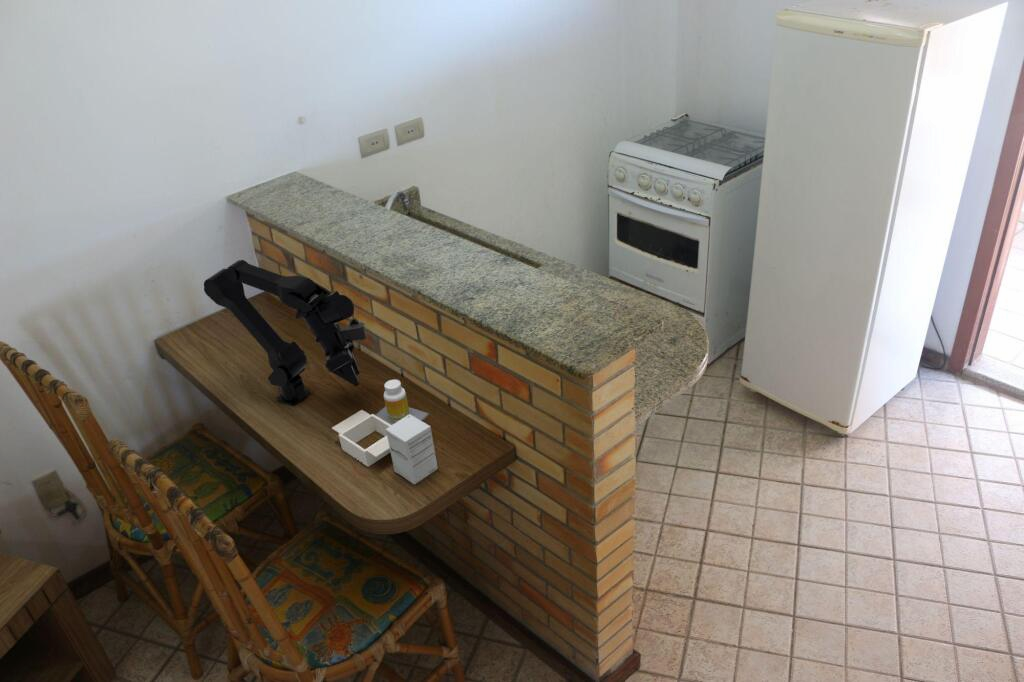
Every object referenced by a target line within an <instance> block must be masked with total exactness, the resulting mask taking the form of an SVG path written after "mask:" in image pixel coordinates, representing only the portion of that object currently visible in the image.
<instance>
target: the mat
mask: <svg viewBox="0 0 1024 682" xmlns="http://www.w3.org/2000/svg"><path fill="white" fill-rule="evenodd" d="M408 407H409V406H408ZM409 412H410V414H411V415H412V416H414V417H416V418H417V419H419V420H421V421H422V422H424V421H425V420H426V419H427V418H428V417H429V415H430V413H428V412H424V411H422V410H419V409H416V408H413V407H409ZM374 415H375V416H377V417H379V418H380V419H382V420H384V421H385V422H387V423H389V424H390V425H393V424H395V423H396V422H393V421H391V420H390V419H389V418H388V414H387V409H386V405H385V406H384V407H383V408H382V409H380V410H379V411H378V412H377V413H376V414H374Z"/></svg>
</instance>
